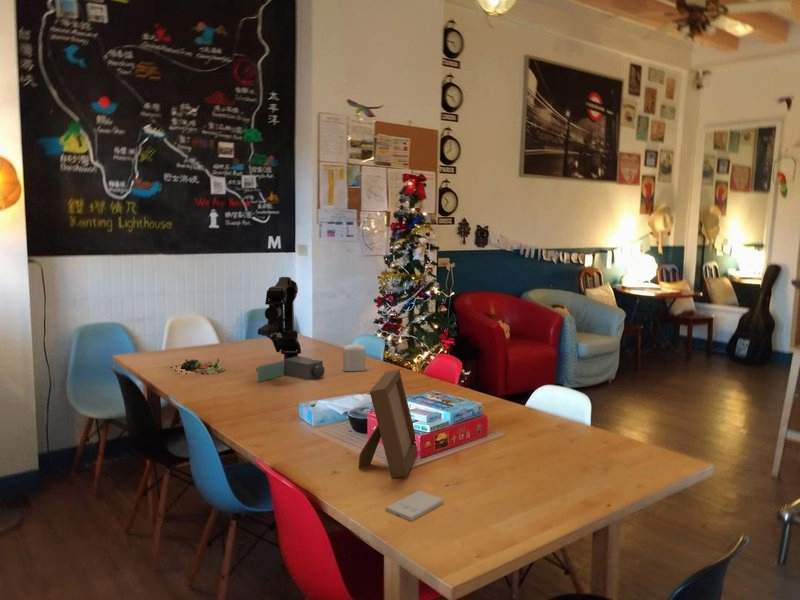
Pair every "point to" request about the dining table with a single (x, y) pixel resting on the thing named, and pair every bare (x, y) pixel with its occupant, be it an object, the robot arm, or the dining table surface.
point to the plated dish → (201, 366)
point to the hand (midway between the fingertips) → (278, 352)
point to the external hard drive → (414, 505)
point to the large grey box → (303, 367)
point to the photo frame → (391, 426)
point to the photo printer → (354, 358)
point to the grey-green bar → (270, 371)
